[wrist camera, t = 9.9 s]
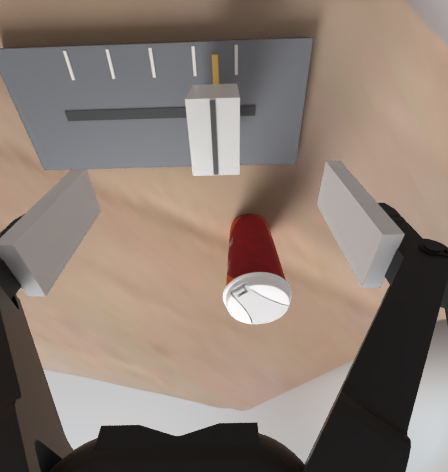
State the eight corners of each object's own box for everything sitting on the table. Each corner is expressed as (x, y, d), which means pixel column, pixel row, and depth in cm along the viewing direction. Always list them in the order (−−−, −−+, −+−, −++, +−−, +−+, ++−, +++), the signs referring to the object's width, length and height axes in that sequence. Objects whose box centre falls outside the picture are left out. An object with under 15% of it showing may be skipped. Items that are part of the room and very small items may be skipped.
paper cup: (212, 227, 41) (207, 304, 29) (253, 197, 37) (265, 270, 26) (246, 257, 44) (253, 335, 33) (286, 231, 41) (308, 308, 30)
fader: (199, 142, 30) (192, 176, 24) (194, 80, 27) (184, 99, 20) (236, 141, 30) (239, 175, 23) (236, 79, 27) (239, 97, 20)
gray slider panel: (52, 163, 35) (43, 170, 33) (2, 48, 27) (-12, 49, 26) (292, 157, 34) (296, 164, 32) (307, 37, 27) (313, 38, 25)
